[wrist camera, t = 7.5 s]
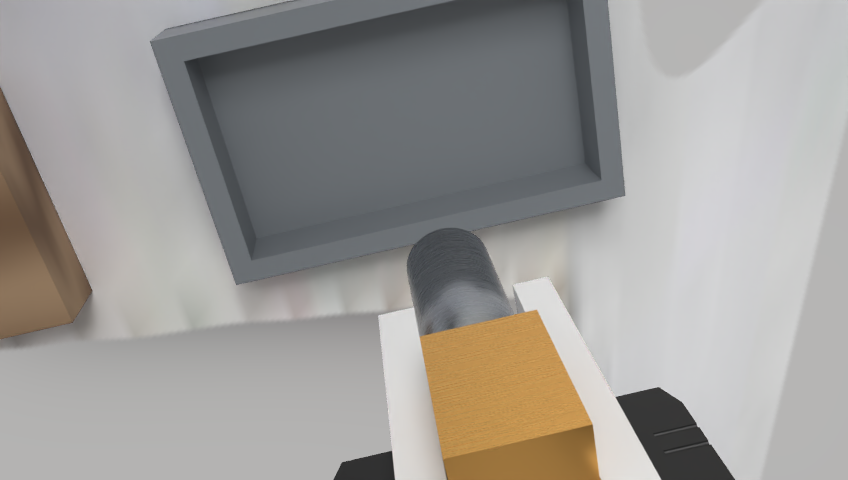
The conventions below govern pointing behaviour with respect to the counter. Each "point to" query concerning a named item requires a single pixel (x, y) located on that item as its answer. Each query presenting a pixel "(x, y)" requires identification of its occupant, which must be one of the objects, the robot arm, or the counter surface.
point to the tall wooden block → (493, 372)
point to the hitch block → (32, 245)
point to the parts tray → (391, 121)
